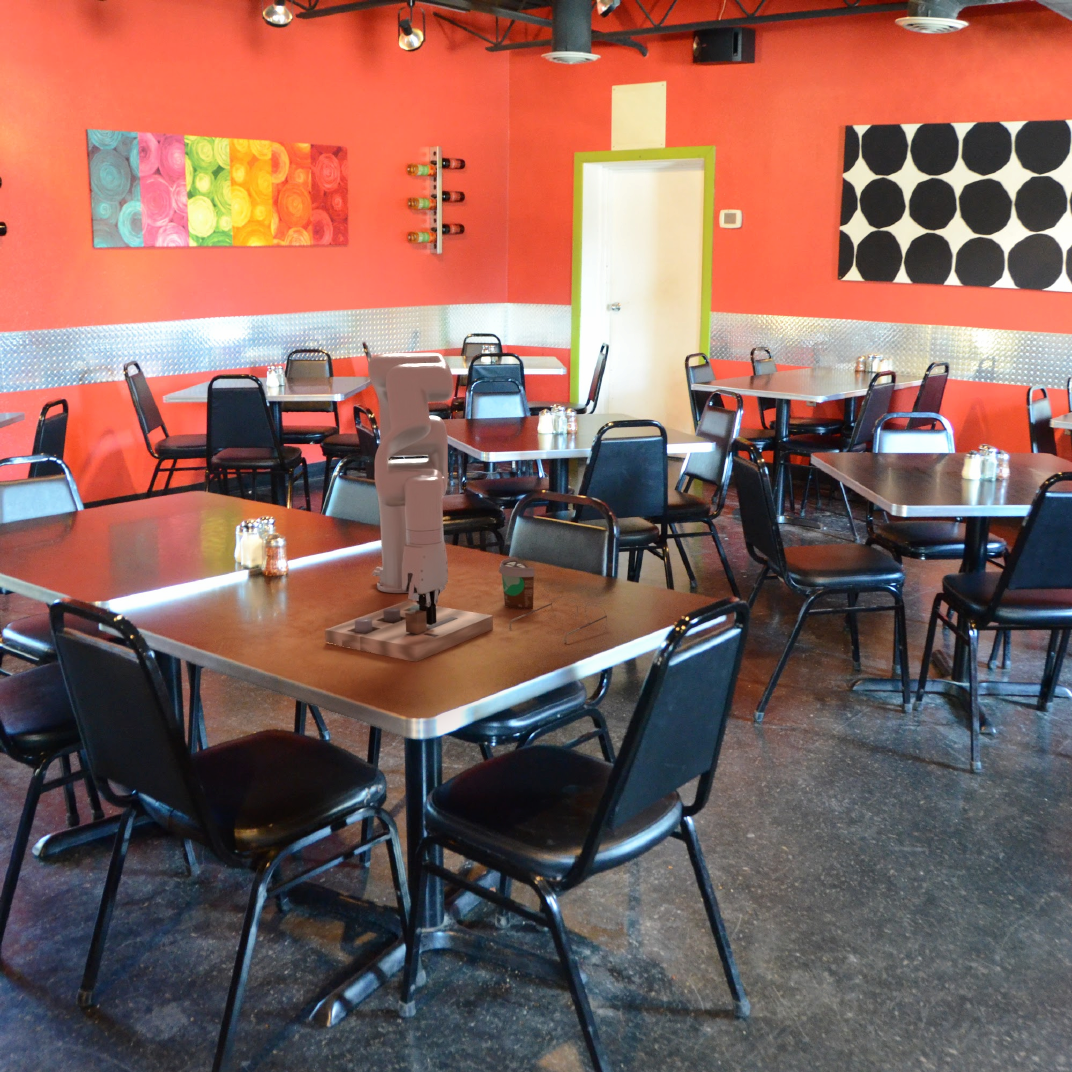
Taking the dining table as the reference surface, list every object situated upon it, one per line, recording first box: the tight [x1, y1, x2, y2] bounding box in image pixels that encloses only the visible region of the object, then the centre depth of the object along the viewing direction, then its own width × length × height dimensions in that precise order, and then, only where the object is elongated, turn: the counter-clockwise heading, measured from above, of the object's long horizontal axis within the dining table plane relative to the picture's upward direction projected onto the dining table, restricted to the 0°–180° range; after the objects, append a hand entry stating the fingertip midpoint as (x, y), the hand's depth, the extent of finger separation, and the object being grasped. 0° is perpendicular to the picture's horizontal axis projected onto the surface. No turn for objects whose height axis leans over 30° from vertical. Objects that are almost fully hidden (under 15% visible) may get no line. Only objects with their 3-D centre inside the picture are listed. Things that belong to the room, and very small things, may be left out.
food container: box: [498, 556, 536, 611], centre depth 267 cm, size 12×6×10 cm, turn 21°
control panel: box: [325, 600, 494, 663], centre depth 245 cm, size 24×26×3 cm
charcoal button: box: [383, 607, 401, 624], centre depth 247 cm, size 4×4×3 cm
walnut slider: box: [405, 610, 427, 634], centre depth 237 cm, size 3×3×4 cm
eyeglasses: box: [508, 596, 608, 644], centre depth 249 cm, size 16×15×5 cm
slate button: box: [355, 617, 373, 634], centre depth 240 cm, size 4×4×3 cm
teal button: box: [411, 605, 419, 611], centre depth 255 cm, size 4×4×3 cm
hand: (428, 622), depth 240 cm, fingers closed
